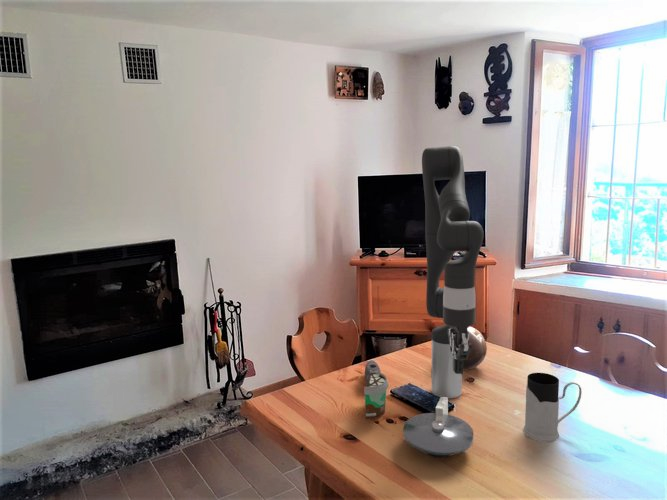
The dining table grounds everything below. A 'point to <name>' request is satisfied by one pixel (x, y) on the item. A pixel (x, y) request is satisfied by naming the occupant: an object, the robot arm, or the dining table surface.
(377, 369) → the perforated stone tool
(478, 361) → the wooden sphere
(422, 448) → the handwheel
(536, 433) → the glass holder
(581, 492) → the dining table surface
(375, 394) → the food container
